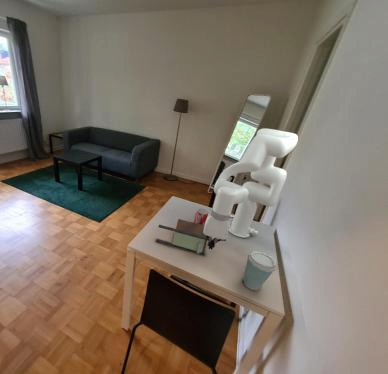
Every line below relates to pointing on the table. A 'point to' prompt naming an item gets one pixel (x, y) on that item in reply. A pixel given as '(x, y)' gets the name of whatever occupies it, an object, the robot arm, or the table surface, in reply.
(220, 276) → the table surface
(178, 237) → the pale green block
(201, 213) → the soda can
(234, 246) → the table surface
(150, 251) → the table surface
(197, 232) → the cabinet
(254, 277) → the disposable coffee cup
